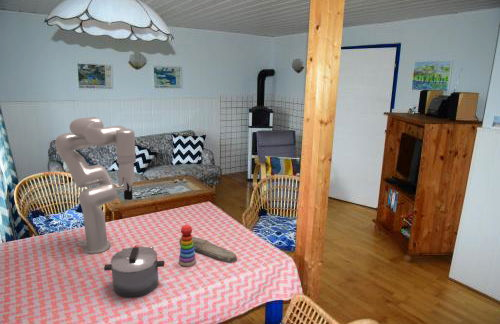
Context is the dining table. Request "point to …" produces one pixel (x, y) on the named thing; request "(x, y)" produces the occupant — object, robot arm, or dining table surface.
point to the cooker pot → (135, 281)
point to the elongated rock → (213, 250)
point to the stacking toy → (187, 247)
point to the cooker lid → (134, 259)
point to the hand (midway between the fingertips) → (128, 198)
